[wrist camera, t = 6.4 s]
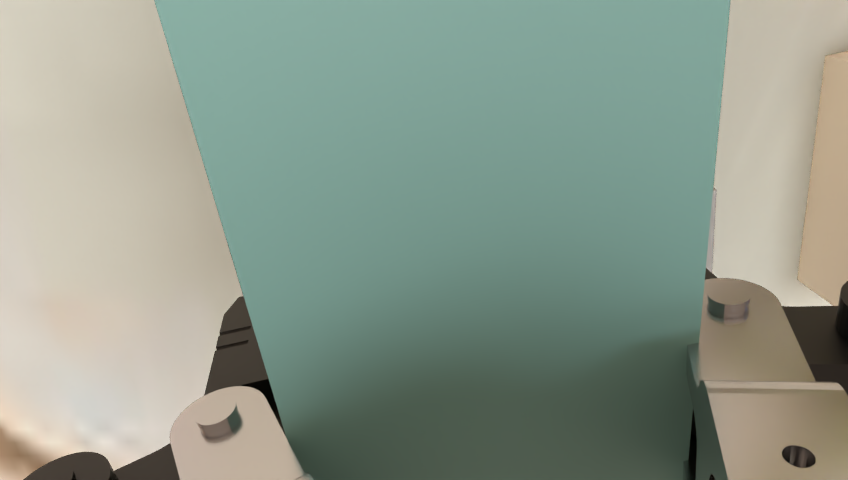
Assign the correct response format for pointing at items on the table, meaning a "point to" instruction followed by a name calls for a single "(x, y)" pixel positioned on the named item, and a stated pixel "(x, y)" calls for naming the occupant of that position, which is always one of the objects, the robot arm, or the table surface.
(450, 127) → the teal brick
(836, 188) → the cream brick
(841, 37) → the table surface
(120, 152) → the table surface
